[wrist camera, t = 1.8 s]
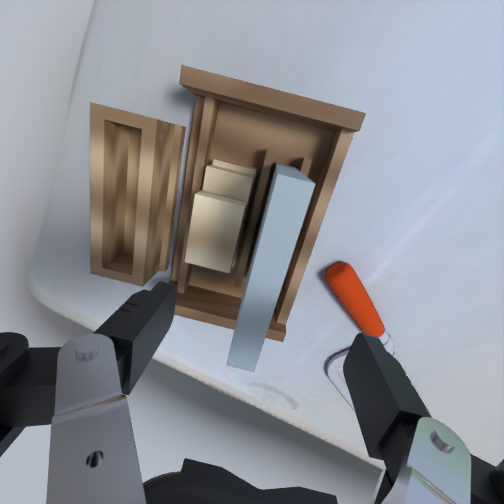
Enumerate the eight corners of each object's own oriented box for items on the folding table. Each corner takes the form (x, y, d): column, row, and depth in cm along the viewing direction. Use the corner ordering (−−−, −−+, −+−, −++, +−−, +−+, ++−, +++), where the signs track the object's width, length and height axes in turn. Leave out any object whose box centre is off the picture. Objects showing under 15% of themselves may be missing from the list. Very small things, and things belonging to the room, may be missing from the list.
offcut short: (202, 189, 22) (195, 193, 20) (247, 201, 22) (244, 206, 20) (192, 252, 24) (184, 261, 22) (233, 263, 24) (229, 273, 22)
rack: (201, 83, 24) (181, 64, 19) (346, 121, 24) (366, 113, 19) (173, 283, 32) (154, 309, 27) (281, 311, 32) (282, 342, 27)
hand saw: (458, 442, 36) (389, 460, 39) (444, 419, 39) (381, 438, 42) (353, 268, 26) (271, 310, 29) (345, 255, 29) (271, 295, 32)
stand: (117, 109, 25) (81, 99, 21) (185, 127, 25) (165, 121, 21) (112, 253, 31) (83, 271, 27) (167, 268, 31) (149, 288, 27)
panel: (276, 162, 25) (277, 173, 12) (294, 167, 25) (315, 183, 12) (248, 270, 29) (226, 365, 16) (263, 274, 29) (253, 372, 16)
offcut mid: (212, 164, 23) (206, 166, 21) (255, 175, 23) (253, 178, 21) (198, 244, 26) (192, 252, 24) (236, 254, 26) (233, 263, 24)
